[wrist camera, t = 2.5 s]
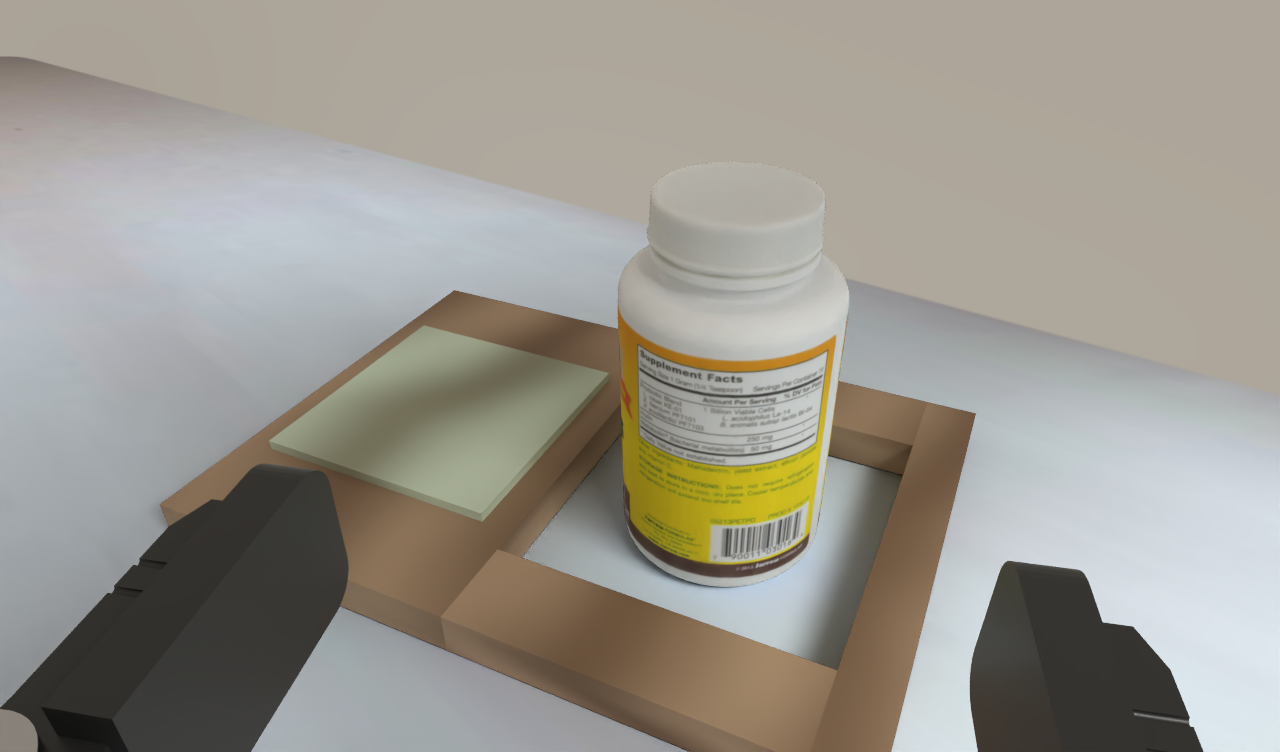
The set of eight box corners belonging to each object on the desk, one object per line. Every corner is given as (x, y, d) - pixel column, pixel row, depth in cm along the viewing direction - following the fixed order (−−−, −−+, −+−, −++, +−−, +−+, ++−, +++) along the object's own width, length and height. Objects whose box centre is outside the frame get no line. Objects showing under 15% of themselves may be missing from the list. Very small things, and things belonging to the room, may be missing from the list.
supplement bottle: (686, 443, 28) (696, 134, 23) (846, 507, 26) (902, 176, 20) (583, 544, 25) (564, 203, 19) (759, 632, 22) (797, 265, 16)
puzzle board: (968, 443, 28) (977, 405, 27) (871, 827, 18) (882, 785, 17) (458, 316, 35) (453, 283, 35) (172, 535, 25) (156, 496, 24)
